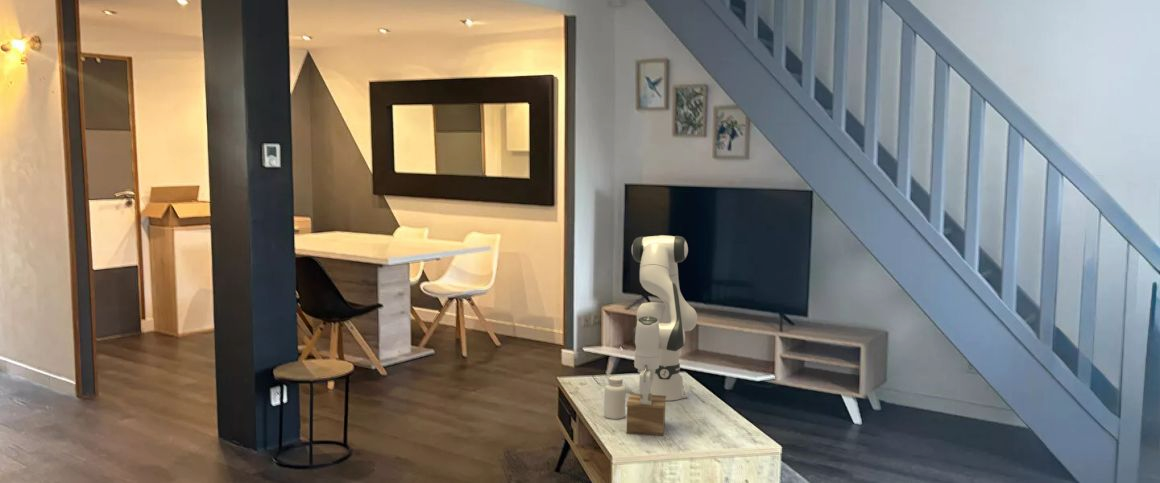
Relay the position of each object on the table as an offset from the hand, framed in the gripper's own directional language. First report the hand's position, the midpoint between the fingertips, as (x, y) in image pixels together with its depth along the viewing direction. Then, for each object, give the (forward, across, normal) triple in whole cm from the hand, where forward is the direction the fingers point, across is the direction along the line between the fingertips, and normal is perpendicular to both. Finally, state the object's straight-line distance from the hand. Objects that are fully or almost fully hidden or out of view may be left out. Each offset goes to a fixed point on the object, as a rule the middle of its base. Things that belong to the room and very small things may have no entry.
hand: (645, 400), depth 328 cm
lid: (+2, +5, 0) cm, 5 cm away
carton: (+12, +5, 0) cm, 13 cm away
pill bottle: (+12, +18, +13) cm, 25 cm away
